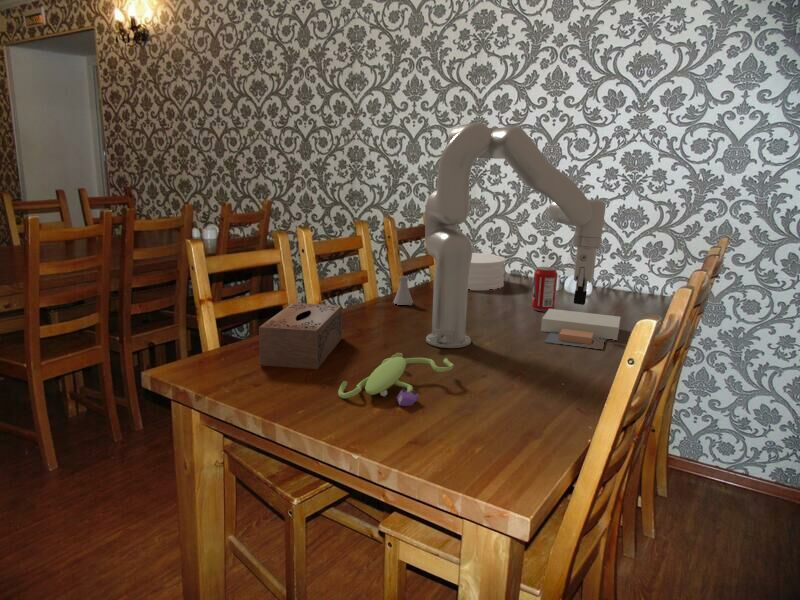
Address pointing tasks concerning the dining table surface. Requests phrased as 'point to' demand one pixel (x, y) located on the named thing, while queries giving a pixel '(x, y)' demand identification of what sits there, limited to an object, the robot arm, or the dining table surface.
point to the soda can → (544, 289)
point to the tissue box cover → (300, 335)
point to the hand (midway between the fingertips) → (579, 303)
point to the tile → (576, 336)
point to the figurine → (392, 379)
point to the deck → (581, 323)
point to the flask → (403, 293)
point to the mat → (554, 338)
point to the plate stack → (486, 272)
